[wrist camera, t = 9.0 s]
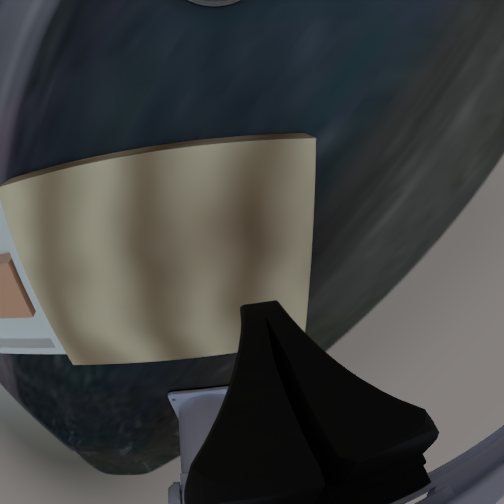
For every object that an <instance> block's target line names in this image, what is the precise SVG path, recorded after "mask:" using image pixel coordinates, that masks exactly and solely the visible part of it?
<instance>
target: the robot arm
mask: <svg viewBox="0 0 504 504" xmlns="http://www.w3.org/2000/svg"><path fill="white" fill-rule="evenodd" d="M240 316H241V333H240V340H239V347H238V352H237V357H236V361H235V366H234V370H233V373H232V377H231V380H230V383H229V386H225V387H216V388H208V389H198V390H188V391H176V392H170V393H168V398H169V400H170V403H171V405H172V407H173V409H174V411H175V413H176V415H177V417H178V420H179V436H180V454H181V468H182V469H181V470H182V473H181V474H180V475H181V485H180V482H174V483H173V485H171V486H170V487H169V489H168V502H169V504H405V503H407V502H409V501H411V500H413V499H415V498H417V497H419V496H421V495H423V494H425V493H426V492H428V491H429V492H428V494H427V497H426V498H424V499H422V500H421V501H419V502H417V503H415V504H497V503H498V502H499V501H500V500H501V499H502V498H503V497H504V425H503V426H502V427H501V428H499V429H498V430H497V431H495V432H494V433H493V434H491V435H490V436H488V437H487V438H486V439H484V440H483V441H481V442H480V443H478V444H477V445H475V446H474V447H472V448H471V449H469V450H468V451H466V452H464V453H463V454H461V455H459V456H458V457H456V458H455V459H453V460H451V461H449V462H448V463H446V464H444V465H442V466H440V467H439V468H437V469H435V470H433V471H431V472H429V473H427V472H426V470H425V468H424V466H423V465H424V464H425V463H426V460H425V458H424V456H423V453H424V452H425V451H426V450H427V449H428V448H429V447H430V446H431V445H432V444H433V443H434V441H435V440H436V439H437V437H438V434H439V431H438V430H437V428H436V426H435V424H434V422H433V420H432V419H431V417H430V416H429V415H428V413H427V412H426V410H425V409H423V408H420V407H417V406H415V405H412V404H410V403H407V402H404V401H402V400H399V399H397V398H395V397H393V396H391V395H389V394H387V393H385V392H383V391H381V390H379V389H378V388H376V387H374V386H372V385H371V384H369V383H367V382H366V381H364V380H362V379H360V378H359V377H357V376H356V375H355V374H353V373H351V372H350V371H349V370H347V369H346V368H345V367H343V366H342V365H341V364H339V363H338V362H337V361H335V360H334V359H333V358H332V357H331V356H329V355H328V354H327V353H326V352H325V351H324V350H323V349H321V348H320V347H319V346H318V345H317V344H316V343H315V342H314V341H313V340H312V339H311V338H310V337H309V336H308V335H307V334H306V333H305V332H304V331H303V330H302V329H301V328H300V327H299V326H298V325H297V323H296V322H295V321H294V320H293V319H292V318H291V317H290V315H289V314H288V313H287V312H286V311H285V309H284V308H283V307H282V305H281V304H280V303H279V302H278V301H277V300H273V301H266V302H260V303H252V304H245V305H242V306H241V307H240Z"/></svg>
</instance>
